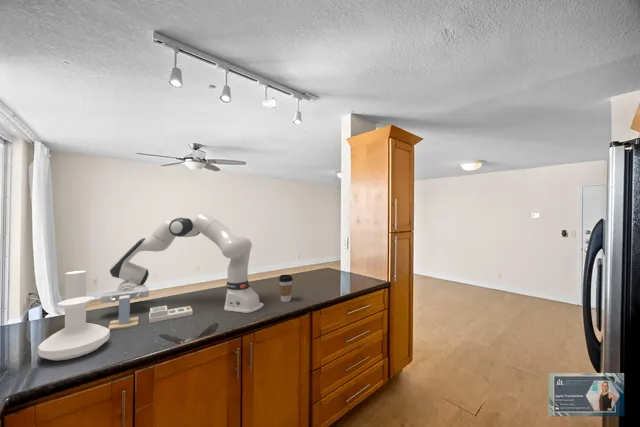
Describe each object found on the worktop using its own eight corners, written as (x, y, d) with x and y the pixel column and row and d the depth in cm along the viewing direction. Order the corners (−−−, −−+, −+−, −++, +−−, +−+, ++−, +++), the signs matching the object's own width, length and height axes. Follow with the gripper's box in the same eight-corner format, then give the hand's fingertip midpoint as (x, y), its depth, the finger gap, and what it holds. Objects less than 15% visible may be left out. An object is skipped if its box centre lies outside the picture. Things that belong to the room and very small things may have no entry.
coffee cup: (287, 297, 166) (287, 273, 166) (295, 300, 160) (295, 276, 160) (276, 300, 160) (276, 275, 160) (284, 303, 154) (284, 278, 154)
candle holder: (122, 338, 109) (122, 292, 110) (79, 366, 89) (79, 310, 90) (73, 339, 109) (74, 293, 109) (19, 366, 89) (20, 310, 89)
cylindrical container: (62, 329, 117) (62, 274, 118) (68, 324, 124) (68, 271, 124) (82, 326, 121) (83, 273, 121) (87, 321, 127) (88, 270, 127)
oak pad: (110, 323, 125) (110, 320, 125) (138, 318, 131) (138, 316, 131) (107, 331, 116) (107, 329, 116) (137, 325, 122) (137, 323, 122)
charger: (119, 321, 125) (119, 296, 125) (129, 319, 127) (130, 294, 127) (118, 325, 121) (118, 299, 121) (129, 323, 123) (129, 297, 123)
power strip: (149, 322, 125) (149, 313, 126) (149, 316, 133) (149, 308, 133) (192, 314, 136) (192, 306, 136) (190, 309, 144) (190, 301, 144)
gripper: (101, 289, 136) (98, 296, 125) (148, 284, 148) (149, 289, 136) (101, 301, 136) (97, 309, 125) (148, 295, 148) (148, 301, 136)
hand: (124, 299), depth 130 cm, fingers open, 8 cm apart
